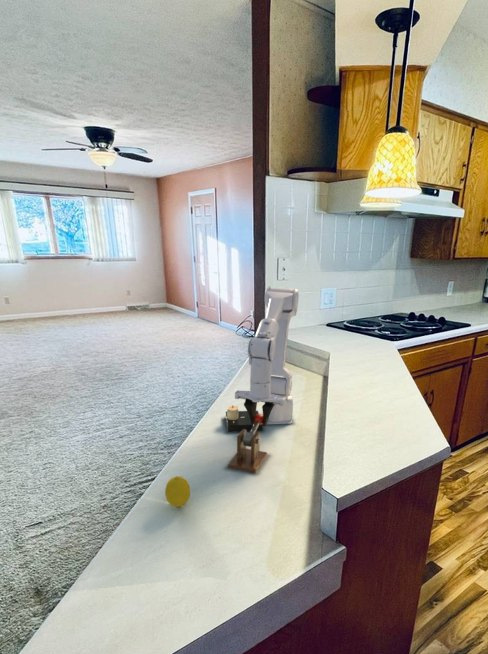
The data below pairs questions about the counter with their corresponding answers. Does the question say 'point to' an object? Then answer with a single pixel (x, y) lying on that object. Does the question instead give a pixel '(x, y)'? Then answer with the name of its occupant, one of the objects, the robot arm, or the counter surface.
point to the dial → (232, 412)
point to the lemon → (177, 491)
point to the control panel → (241, 422)
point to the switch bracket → (248, 454)
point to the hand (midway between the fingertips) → (259, 424)
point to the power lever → (252, 430)
